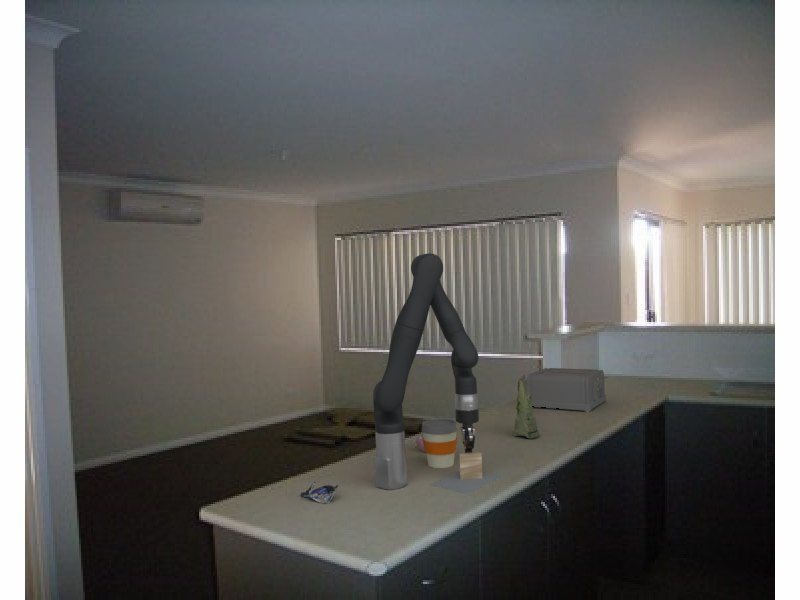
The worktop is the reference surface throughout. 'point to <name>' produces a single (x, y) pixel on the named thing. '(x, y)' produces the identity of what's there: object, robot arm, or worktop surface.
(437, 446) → the reusable coffee cup
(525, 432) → the green rock spire
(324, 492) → the snack package
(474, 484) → the rubber mat
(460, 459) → the birch tile
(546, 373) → the toaster
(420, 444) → the video game controller
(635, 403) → the worktop surface
